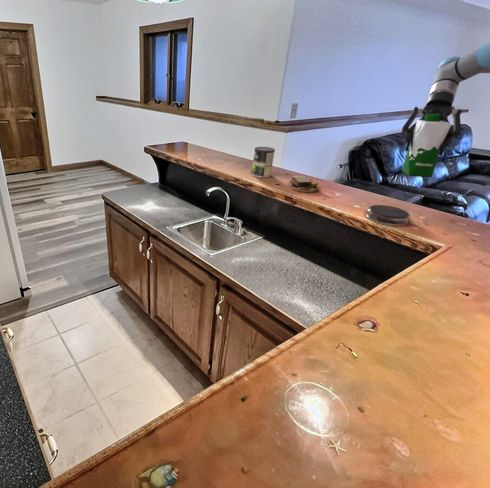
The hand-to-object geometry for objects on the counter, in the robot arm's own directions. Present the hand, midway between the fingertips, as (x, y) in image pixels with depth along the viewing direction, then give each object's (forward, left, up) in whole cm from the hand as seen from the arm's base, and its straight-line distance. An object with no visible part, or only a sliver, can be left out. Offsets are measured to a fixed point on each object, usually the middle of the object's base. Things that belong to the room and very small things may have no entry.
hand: (423, 150), depth 118 cm
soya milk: (0, -3, -9) cm, 10 cm away
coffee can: (+66, -33, -27) cm, 79 cm away
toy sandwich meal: (+41, -22, -27) cm, 54 cm away
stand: (+4, -2, -27) cm, 27 cm away
